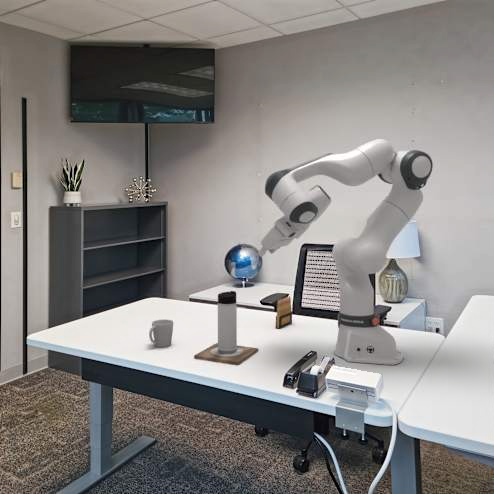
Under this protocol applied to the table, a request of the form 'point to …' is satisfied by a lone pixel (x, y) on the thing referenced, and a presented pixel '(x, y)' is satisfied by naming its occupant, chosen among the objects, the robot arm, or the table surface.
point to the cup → (161, 333)
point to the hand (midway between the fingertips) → (265, 253)
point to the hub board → (226, 355)
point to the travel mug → (227, 322)
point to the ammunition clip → (283, 313)
